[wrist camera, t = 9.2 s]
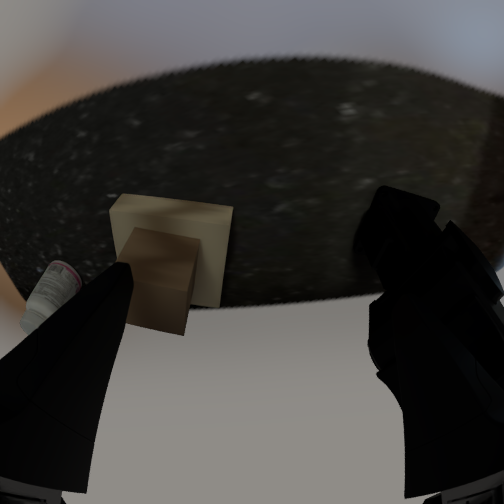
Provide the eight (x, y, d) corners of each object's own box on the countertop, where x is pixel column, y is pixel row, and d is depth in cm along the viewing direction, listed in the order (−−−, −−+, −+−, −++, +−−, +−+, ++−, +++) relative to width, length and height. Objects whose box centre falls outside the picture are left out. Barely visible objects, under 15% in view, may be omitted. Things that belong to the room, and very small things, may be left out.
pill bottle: (75, 294, 28) (48, 351, 22) (46, 271, 26) (14, 326, 20) (89, 278, 26) (58, 341, 20) (56, 252, 24) (19, 312, 18)
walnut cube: (200, 239, 20) (187, 291, 16) (194, 285, 23) (183, 335, 19) (134, 226, 19) (108, 274, 15) (137, 274, 22) (119, 321, 18)
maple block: (233, 203, 21) (230, 225, 19) (222, 284, 27) (219, 308, 25) (124, 190, 20) (109, 210, 18) (134, 270, 26) (125, 292, 24)
